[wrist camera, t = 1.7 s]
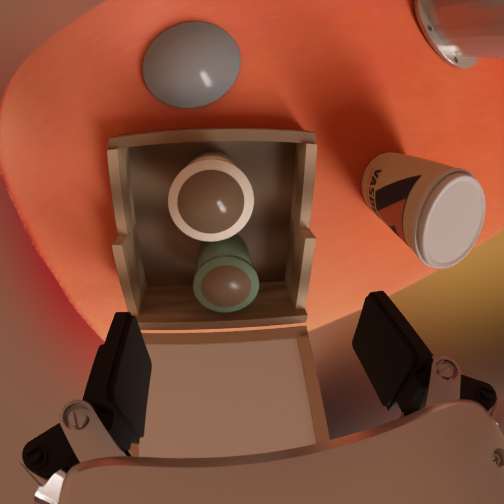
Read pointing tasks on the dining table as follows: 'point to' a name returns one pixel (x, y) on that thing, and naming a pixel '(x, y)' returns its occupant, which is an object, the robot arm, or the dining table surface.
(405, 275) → the dining table surface
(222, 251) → the green pot
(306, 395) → the frame lid
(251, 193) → the cream pot
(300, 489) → the robot arm
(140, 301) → the box
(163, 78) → the slate saucer
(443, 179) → the coffee cup
